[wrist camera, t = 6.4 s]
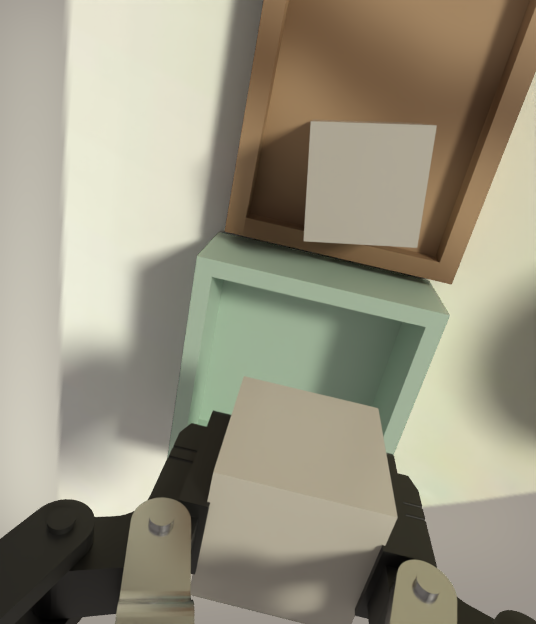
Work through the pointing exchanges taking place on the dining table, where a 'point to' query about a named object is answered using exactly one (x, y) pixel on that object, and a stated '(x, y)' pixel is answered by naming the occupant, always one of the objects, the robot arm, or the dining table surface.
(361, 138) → the stone
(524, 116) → the dining table surface
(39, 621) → the robot arm
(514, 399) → the dining table surface
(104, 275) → the dining table surface
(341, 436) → the stone
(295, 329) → the bin
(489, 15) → the tray
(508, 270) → the dining table surface
